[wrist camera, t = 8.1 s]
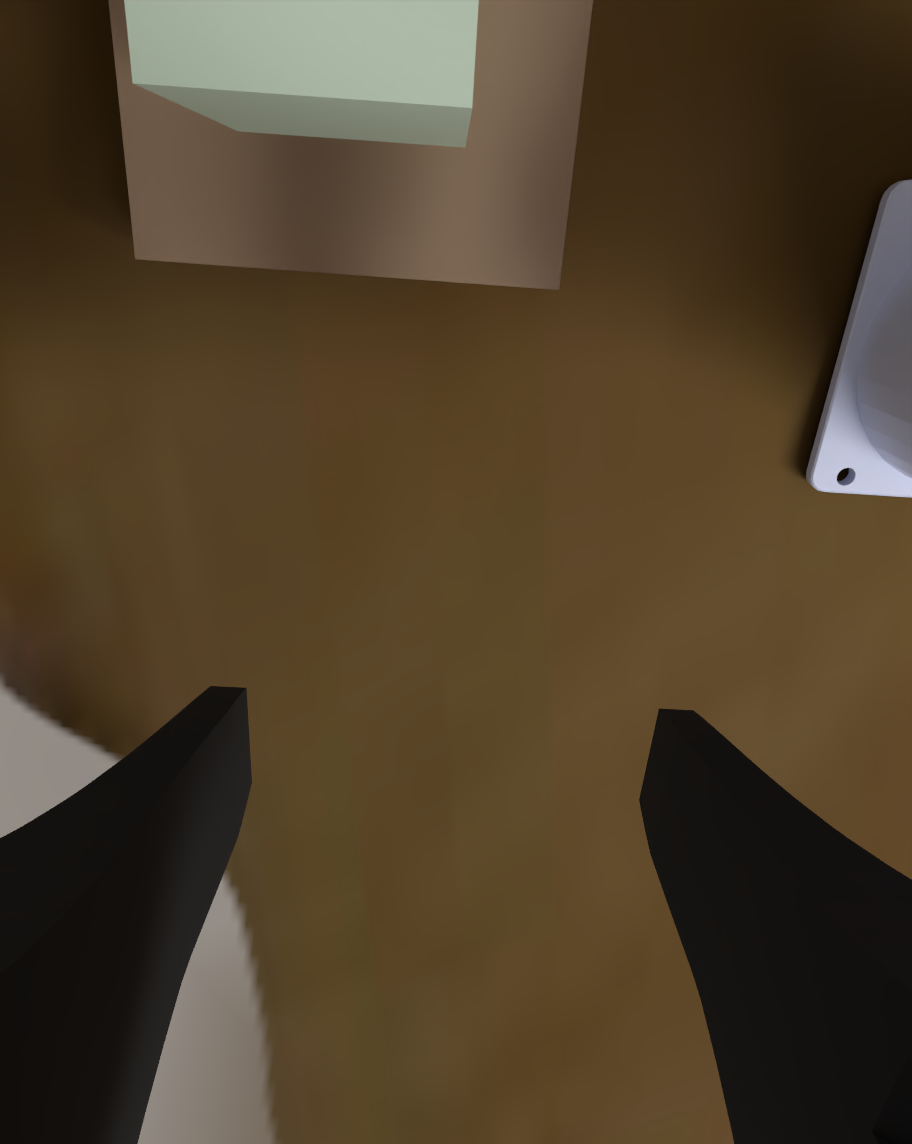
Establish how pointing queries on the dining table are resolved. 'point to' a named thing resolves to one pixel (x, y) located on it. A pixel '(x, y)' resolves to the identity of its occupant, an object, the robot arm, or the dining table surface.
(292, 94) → the green block
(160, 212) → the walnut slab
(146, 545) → the dining table surface
